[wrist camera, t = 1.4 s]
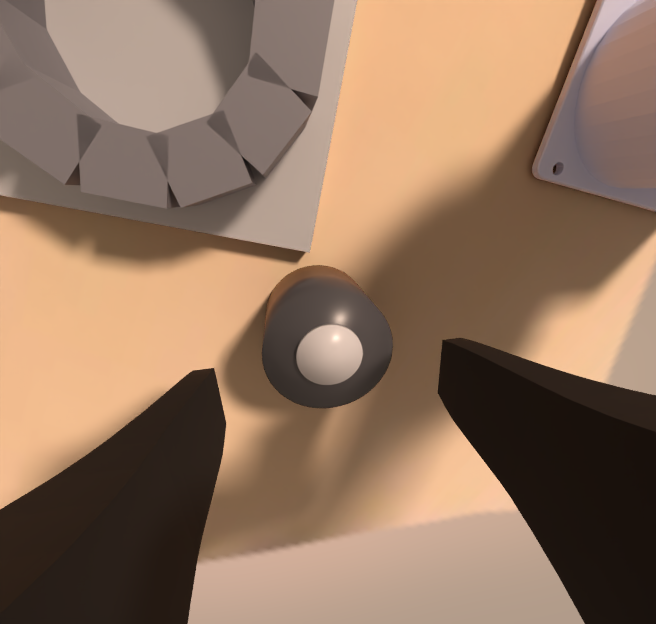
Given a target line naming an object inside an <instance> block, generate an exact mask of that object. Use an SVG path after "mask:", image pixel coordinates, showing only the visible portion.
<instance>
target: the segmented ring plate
mask: <svg viewBox="0 0 656 624" xmlns="http://www.w3.org/2000/svg"><path fill="white" fill-rule="evenodd" d="M356 5H357V0H0V195H2V196H7V197H13V198H18V199H23V200H29V201H34V202H40V203H45V204H50V205H56V206H61V207H67V208H72V209H77V210H83V211H88V212H94V213H99V214H104V215H110V216H115V217H121V218H126V219H131V220H137V221H142V222H148V223H153V224H158V225H164V226H169V227H175V228H180V229H185V230H191V231H196V232H202V233H207V234H212V235H218V236H223V237H229V238H234V239H239V240H245V241H250V242H255V243H261V244H266V245H272V246H277V247H282V248H288V249H293V250H299V251H304V252H309V253H310V249H311V243H312V238H313V233H314V227H315V222H316V217H317V211H318V206H319V201H320V196H321V190H322V185H323V180H324V174H325V169H326V164H327V158H328V153H329V148H330V142H331V137H332V132H333V127H334V121H335V116H336V111H337V105H338V100H339V95H340V89H341V84H342V79H343V74H344V68H345V63H346V58H347V52H348V47H349V42H350V36H351V31H352V26H353V20H354V15H355V10H356Z"/></svg>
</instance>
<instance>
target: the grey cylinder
mask: <svg viewBox="0 0 656 624" xmlns="http://www.w3.org/2000/svg"><path fill="white" fill-rule="evenodd" d="M392 348H393V342H392V334H391V330H390V327H389V325H388V323H387V321H386V319H385V317H384V316H383V314H382V313H381V312H380V311H379V309H378V308H377V307H376V306H375V305H374V303H373V302H372V301H371V300H370V299H369V298H368V296H367V295H366V294H365V293H364V292H363V291H362V289H361V288H360V287H359V286H358V285H357V284H356V282H355V281H354V280H353V279H352V278H351V277H349V276H348V275H347V274H346V273H344V272H342V271H340V270H338V269H336V268H333V267H329V266H322V265H313V266H307V267H303V268H300V269H297V270H295V271H293V272H291V273H290V274H288V275H287V276H285V277H284V278H283V279H282V280H281V281H280V282H279V283H278V284H277V285H276V287H275V288H274V289H273V291H272V293H271V295H270V297H269V300H268V304H267V309H266V319H265V328H264V338H263V348H262V361H263V366H264V370H265V373H266V375H267V377H268V379H269V381H270V382H271V384H272V385H273V386H274V388H275V389H276V390H277V391H278V392H279V393H280V394H281V395H283V396H284V397H286V398H287V399H289V400H291V401H292V402H294V403H297V404H300V405H303V406H307V407H312V408H333V407H338V406H342V405H345V404H348V403H351V402H353V401H355V400H357V399H359V398H361V397H362V396H364V395H365V394H367V393H368V392H369V391H370V390H371V389H373V388H374V387H375V386H376V384H377V383H378V382H379V381H380V380H381V378H382V377H383V375H384V374H385V372H386V370H387V368H388V366H389V363H390V360H391V356H392Z"/></svg>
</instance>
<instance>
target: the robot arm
mask: <svg viewBox="0 0 656 624" xmlns="http://www.w3.org/2000/svg"><path fill="white" fill-rule="evenodd" d="M554 165H556V171H555V173H554V174H553V167H554ZM532 173H533V175H534V177H536V178H537V179H540V180H544V181H548V182H551V183H555V184H558V185H562V186H565V187H569V188H573V189H576V190H580V191H583V192H587V193H590V194H594V195H597V196H601V197H605V198H608V199H612V200H615V201H619V202H622V203H626V204H629V205H633V206H637V207H640V208H644V209H647V210H651V211H654V212H656V0H597V1H596V4H595V7H594V9H593V12H592V14H591V17H590V19H589V22H588V24H587V27H586V30H585V32H584V35H583V37H582V40H581V42H580V45H579V47H578V50H577V53H576V55H575V58H574V60H573V63H572V65H571V68H570V71H569V73H568V76H567V78H566V81H565V83H564V86H563V88H562V91H561V94H560V96H559V99H558V101H557V104H556V106H555V109H554V111H553V114H552V117H551V119H550V122H549V124H548V127H547V129H546V132H545V135H544V137H543V140H542V142H541V145H540V147H539V150H538V152H537V155H536V158H535V160H534V163H533V166H532ZM438 394H439V396H440V398H441V400H442V402H443V404H444V405H445V407H446V409H447V411H448V412H449V414H450V416H451V417H452V419H453V421H454V422H455V423H456V425H457V426H458V427H459V429H460V430H461V431H462V433H463V434H464V435H465V437H466V438H467V439H468V441H469V442H470V443H471V445H472V446H473V447H474V449H475V450H476V451H477V453H478V454H479V455H480V456H481V458H482V459H483V460H484V462H485V463H486V464H487V466H488V467H489V468H490V470H491V471H492V472H493V473H494V475H495V476H496V477H497V479H498V480H499V481H500V483H501V484H502V486H503V487H504V488H505V490H506V491H507V493H508V494H509V495H510V497H511V498H512V500H513V502H514V503H515V505H516V506H517V508H518V510H519V511H520V513H521V514H522V516H523V518H524V519H525V521H526V522H527V524H528V526H529V527H530V529H531V530H532V532H533V534H534V535H535V537H536V539H537V540H538V542H539V544H540V545H541V547H542V549H543V551H544V552H545V554H546V556H547V557H548V559H549V561H550V562H551V564H552V566H553V567H554V569H555V571H556V572H557V574H558V576H559V578H560V579H561V581H562V583H563V585H564V587H565V588H566V590H567V592H568V594H569V596H570V598H571V599H572V601H573V603H574V605H575V606H576V608H577V610H578V612H579V614H580V616H581V617H582V619H583V621H584V623H585V624H656V395H651V394H646V393H642V392H638V391H633V390H629V389H625V388H620V387H616V386H613V385H609V384H605V383H601V382H597V381H593V380H590V379H586V378H583V377H579V376H576V375H573V374H569V373H566V372H563V371H560V370H556V369H553V368H550V367H547V366H544V365H541V364H538V363H535V362H532V361H529V360H526V359H523V358H521V357H518V356H515V355H512V354H509V353H507V352H504V351H501V350H498V349H495V348H492V347H490V346H487V345H484V344H481V343H478V342H474V341H471V340H467V339H463V338H455V339H447V340H443V342H442V352H441V363H440V374H439V385H438ZM225 430H226V420H225V416H224V411H223V406H222V402H221V397H220V393H219V388H218V384H217V379H216V374H215V370H214V368H211V369H203V370H195V371H192V372H190V373H189V374H188V375H186V376H185V377H184V378H183V379H182V380H180V381H179V382H178V383H177V384H176V385H174V386H173V387H172V388H171V389H170V390H169V391H167V392H166V393H165V394H164V395H163V396H162V397H160V398H159V399H158V400H157V401H156V402H155V403H153V404H152V405H151V406H150V407H149V408H147V409H146V410H145V411H144V412H143V413H141V414H140V415H139V416H138V417H136V418H135V419H134V420H132V421H131V422H130V423H129V424H127V425H126V426H125V427H124V428H122V429H121V430H120V431H118V432H117V433H116V434H115V435H113V436H112V437H111V438H109V439H108V440H107V441H105V442H104V443H103V444H101V445H100V446H99V447H97V448H96V449H94V450H93V451H92V452H90V453H89V454H87V455H86V456H85V457H83V458H82V459H80V460H79V461H77V462H76V463H74V464H73V465H71V466H70V467H68V468H67V469H65V470H64V471H62V472H61V473H59V474H58V475H56V476H55V477H53V478H52V479H50V480H48V481H47V482H45V483H43V484H42V485H40V486H39V487H37V488H35V489H34V490H32V491H30V492H29V493H27V494H25V495H24V496H22V497H20V498H19V499H17V500H15V501H14V502H12V503H10V504H9V505H7V506H5V507H4V508H2V509H0V624H187V623H188V616H189V609H190V602H191V596H192V590H193V584H194V577H195V571H196V565H197V559H198V554H199V549H200V544H201V540H202V535H203V531H204V527H205V523H206V519H207V515H208V511H209V507H210V504H211V500H212V496H213V492H214V488H215V484H216V480H217V476H218V472H219V468H220V464H221V459H222V455H223V447H224V439H225Z"/></svg>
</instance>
